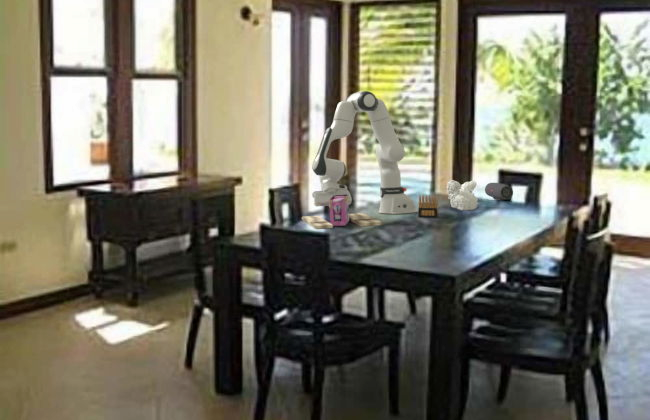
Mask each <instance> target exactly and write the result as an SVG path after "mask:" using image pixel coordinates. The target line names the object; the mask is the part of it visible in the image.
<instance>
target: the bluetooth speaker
mask: <svg viewBox="0 0 650 420" xmlns="http://www.w3.org/2000/svg"><path fill="white" fill-rule="evenodd" d="M484 193H485V194H486V195H487V196H489V197H491V198H492V199H493V200H496V201H505V200H509V199H511V198H512V197H513V195H514V191H513V188H512V187H511V186H510V185H508V184H504V183H500V182H489V183H487V184H486V186H485V187H484Z"/></svg>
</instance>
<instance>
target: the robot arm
mask: <svg viewBox="0 0 650 420" xmlns="http://www.w3.org/2000/svg"><path fill="white" fill-rule="evenodd" d="M364 112H365V113H366V114H367V116H368V118H369V122H370V125H371V126H370V127H371V130H372V132H373V134H374V135H373V136H374V137H375V138H376V140H377V142H378V145H377V146H376V148H375V155H376V157H377V162H378V166H379V168H378V169H379V171H380V172H379V174H380V188H379V197H380V204H379V210H378V213H380V214H389V215H390V214H393V215H399V214H401V215H402V214H410V213H418V208H417V207H416V204H415V200H414V199H413V198H411V197H410V196H408V195H407V194H406V193H405V192H407V191H408V190H407V188H406V187H403V186H401V185H402V182H401V179H402V178H401V170H400V169H399V162H401V161H402V160H403V159H404V157H405V154H406V151H405V149H404V146H403V145H402V144H401V141H400V139H399V138H398V135H397V133H396V132H395V129H394V126H393V123H392V120H391V115H390V113H389V110H388V108H387V106H386V103H385V102H384V101H383V100H382V99H381V98H377V97H376V95H375V94H374V93H372V92H371V91H368V90H364V91H363V90H362V91H360V90H359V91H357V92H353V93H350V94H349V95H348V96H347V97H346V99H345V100H342V101H340V102H338V103H337V106H336V109H335V112H334V116H333V119H332V123H331V126H330V127H328V128H326V129H325V131H324V134H323V136H322V138H321V141H320V145H319V147H318V151H317V153H316V155H315V158H314V160H313V162H312V166H311V169H312V171H313V173H314V174H315V175H316V176H319V182H320V185H321V190H315V191H313V192H312V193H311V195H312V198H313V202H314V203H313V204H314V206H315V207H326V206H327V207H328V208H330V201H329V200H330V199H331V198H332V197H333V195H347V194H348V205H351V204H352V201H353V199H352V196H351V193H350V191H349V190H348V187H347V185H346V184H345V185H343V184H340V183H338V182H339V181H340V180H341V179H343V178H344V177H345V176H346V174H347V168H346V167H347V166H346V164H345V163H344V161H342V160H339V159H332V158H328V157H327V155H328V151H329V149H330V145H331V143H332V142H333V141H335V140H338V139H344V138H346V137H348V136H349V135H351V133H352V132H353V128H354V122H355V117H356V115H357V113H364Z"/></svg>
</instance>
